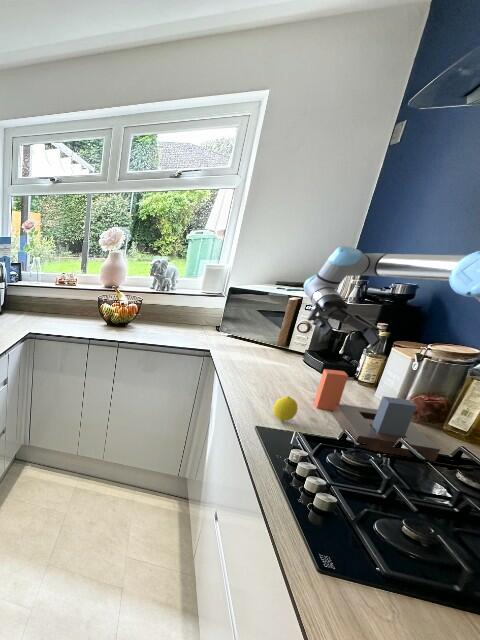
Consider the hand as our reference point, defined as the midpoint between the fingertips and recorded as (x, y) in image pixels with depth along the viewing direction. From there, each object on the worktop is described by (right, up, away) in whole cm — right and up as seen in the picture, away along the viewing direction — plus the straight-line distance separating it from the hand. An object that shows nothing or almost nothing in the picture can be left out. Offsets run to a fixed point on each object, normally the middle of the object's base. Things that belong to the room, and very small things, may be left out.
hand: (352, 337), depth 124 cm
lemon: (-26, -26, -5) cm, 37 cm away
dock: (-7, -29, -14) cm, 33 cm away
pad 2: (-9, -30, -18) cm, 36 cm away
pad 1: (-4, -22, +5) cm, 23 cm away
